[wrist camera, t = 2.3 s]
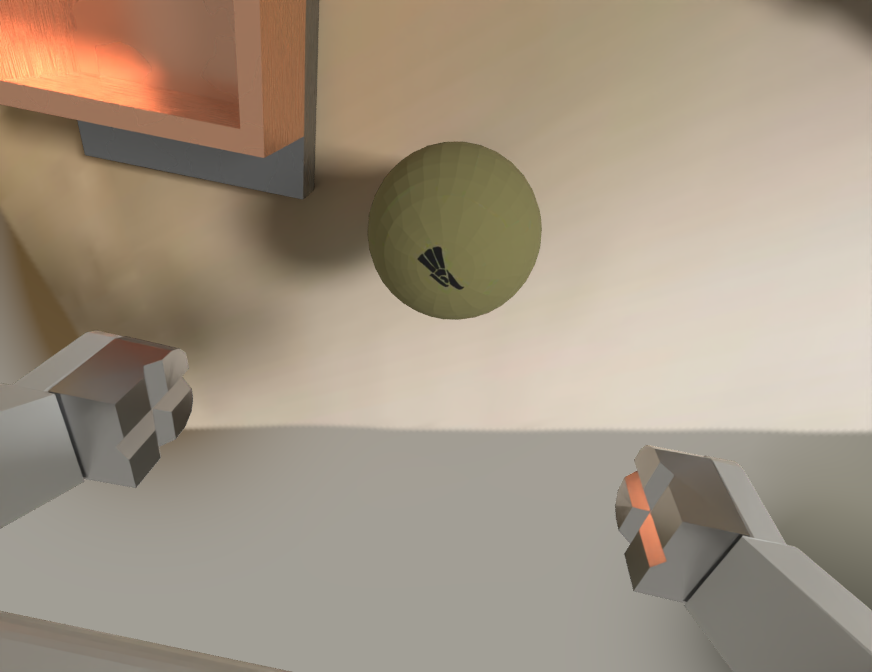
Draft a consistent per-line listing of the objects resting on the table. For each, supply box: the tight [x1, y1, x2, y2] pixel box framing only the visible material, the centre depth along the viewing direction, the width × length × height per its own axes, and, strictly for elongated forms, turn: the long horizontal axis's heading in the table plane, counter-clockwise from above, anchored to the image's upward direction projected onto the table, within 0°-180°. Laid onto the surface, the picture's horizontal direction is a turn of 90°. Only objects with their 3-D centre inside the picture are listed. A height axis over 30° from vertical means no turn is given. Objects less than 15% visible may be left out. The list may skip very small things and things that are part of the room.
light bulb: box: [368, 142, 542, 319], centre depth 18 cm, size 6×6×10 cm
